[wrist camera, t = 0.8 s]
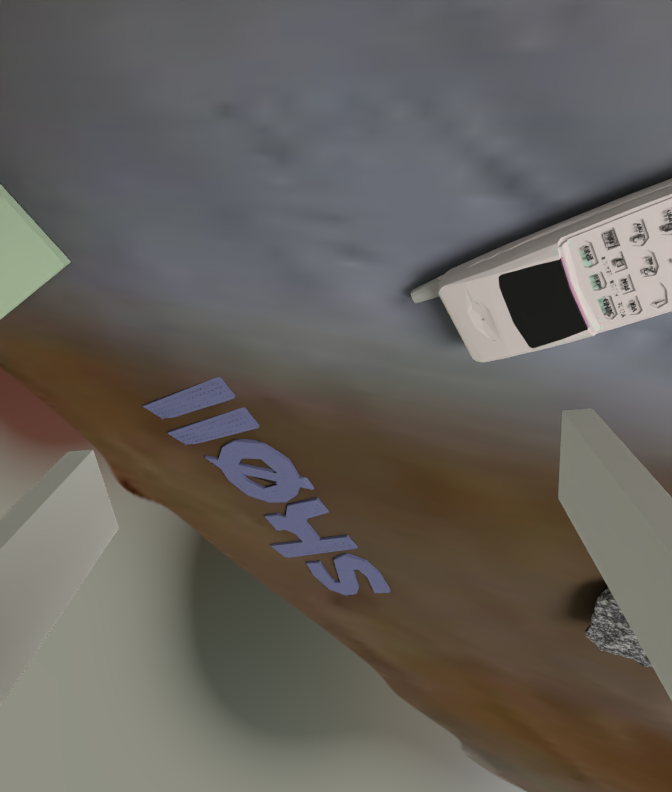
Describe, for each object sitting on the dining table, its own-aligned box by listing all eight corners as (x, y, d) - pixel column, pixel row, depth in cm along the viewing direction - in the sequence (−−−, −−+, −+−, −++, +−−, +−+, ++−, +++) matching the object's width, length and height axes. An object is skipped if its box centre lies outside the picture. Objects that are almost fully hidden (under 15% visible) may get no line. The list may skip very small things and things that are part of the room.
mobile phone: (1164, 235, 17) (435, 414, 31) (1045, 172, 21) (451, 354, 35) (1193, 36, 15) (383, 328, 28) (1051, 10, 19) (407, 274, 32)
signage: (396, 593, 54) (316, 597, 60) (397, 587, 55) (318, 591, 60) (221, 377, 42) (142, 407, 48) (225, 372, 43) (146, 402, 48)
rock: (586, 565, 44) (587, 613, 41) (740, 582, 40) (754, 637, 37) (585, 617, 48) (586, 664, 45) (723, 637, 44) (735, 690, 41)
